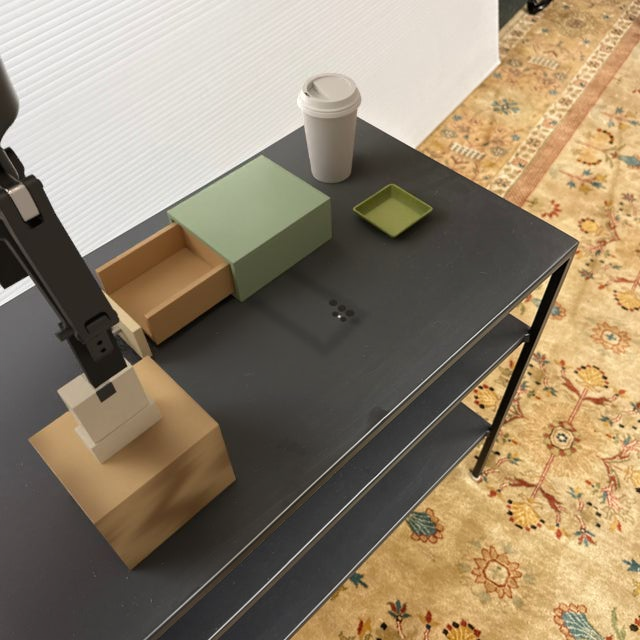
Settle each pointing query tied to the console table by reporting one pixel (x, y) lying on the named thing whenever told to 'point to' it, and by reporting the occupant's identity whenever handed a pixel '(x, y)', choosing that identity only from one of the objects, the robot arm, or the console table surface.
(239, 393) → the console table surface
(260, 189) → the cabinet
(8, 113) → the robot arm
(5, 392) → the console table surface
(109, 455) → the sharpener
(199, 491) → the stand
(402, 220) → the olive green square tray
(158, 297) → the drawer
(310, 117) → the coffee cup
